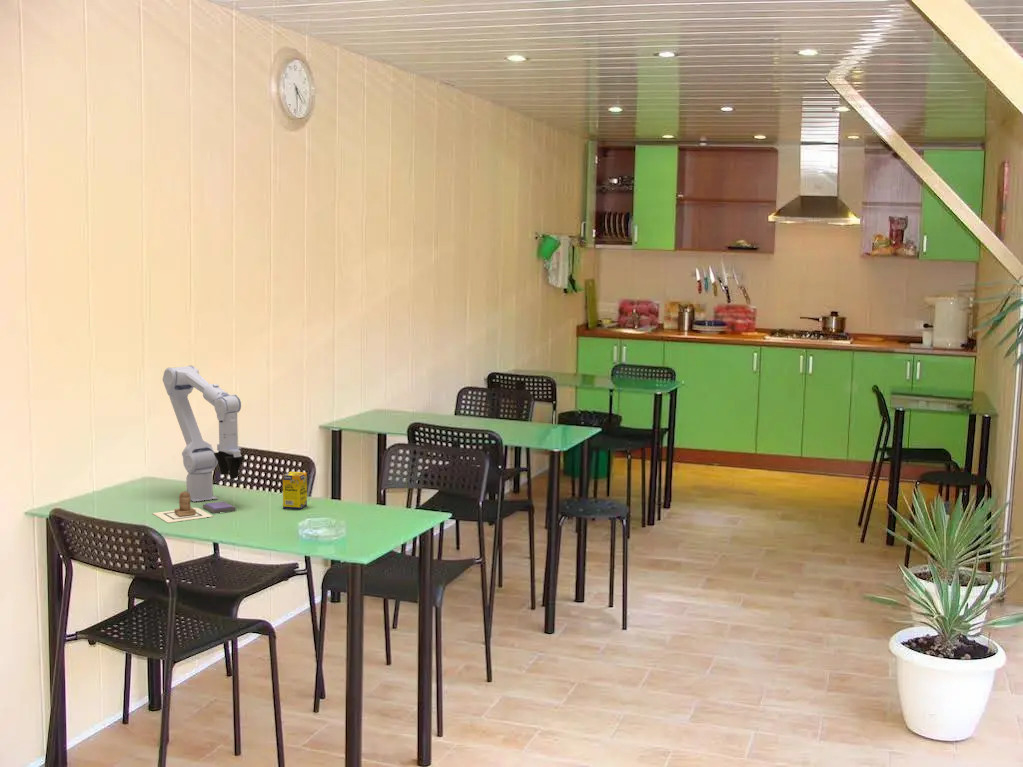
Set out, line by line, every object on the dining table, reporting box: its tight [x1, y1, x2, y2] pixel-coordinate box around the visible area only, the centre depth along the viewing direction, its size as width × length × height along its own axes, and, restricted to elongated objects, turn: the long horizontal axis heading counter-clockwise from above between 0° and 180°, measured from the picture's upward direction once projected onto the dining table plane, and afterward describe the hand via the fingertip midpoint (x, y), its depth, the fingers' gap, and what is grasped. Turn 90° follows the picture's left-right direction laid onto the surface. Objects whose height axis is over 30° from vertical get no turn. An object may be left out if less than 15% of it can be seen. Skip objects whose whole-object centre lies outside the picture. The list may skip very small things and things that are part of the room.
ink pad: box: [202, 500, 237, 514], centre depth 355 cm, size 9×7×2 cm
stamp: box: [174, 491, 196, 517], centre depth 348 cm, size 5×5×7 cm
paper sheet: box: [152, 507, 214, 524], centre depth 348 cm, size 14×14×1 cm
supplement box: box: [282, 471, 308, 511], centre depth 359 cm, size 6×6×11 cm
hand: (229, 476), depth 361 cm, fingers open, 7 cm apart
